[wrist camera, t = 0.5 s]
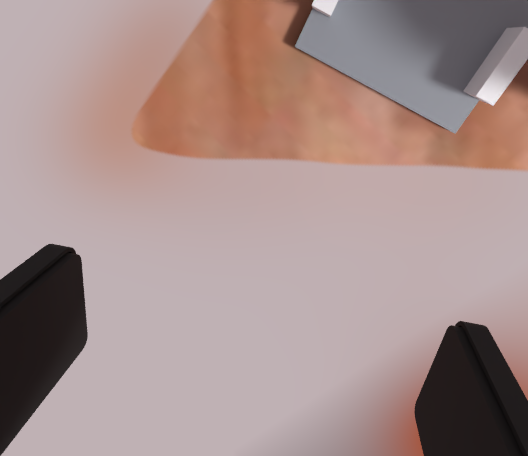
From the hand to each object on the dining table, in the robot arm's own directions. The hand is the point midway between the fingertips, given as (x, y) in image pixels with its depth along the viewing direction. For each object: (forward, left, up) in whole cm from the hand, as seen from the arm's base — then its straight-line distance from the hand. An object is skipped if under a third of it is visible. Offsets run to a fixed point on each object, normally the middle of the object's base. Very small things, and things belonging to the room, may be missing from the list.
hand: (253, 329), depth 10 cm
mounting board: (-11, +4, -28) cm, 30 cm away
